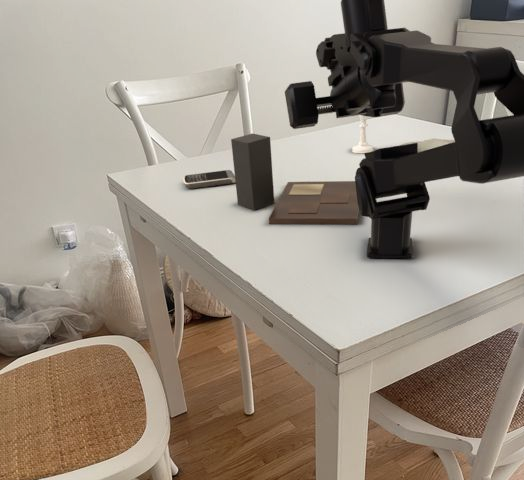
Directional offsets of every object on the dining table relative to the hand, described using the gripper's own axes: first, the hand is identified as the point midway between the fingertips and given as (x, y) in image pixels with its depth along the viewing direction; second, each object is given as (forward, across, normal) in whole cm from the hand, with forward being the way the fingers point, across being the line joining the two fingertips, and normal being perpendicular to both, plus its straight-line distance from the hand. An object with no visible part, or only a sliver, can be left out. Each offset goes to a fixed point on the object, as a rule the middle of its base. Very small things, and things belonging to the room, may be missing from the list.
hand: (327, 113), depth 93 cm
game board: (+5, +2, +14) cm, 15 cm away
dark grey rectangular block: (+10, +13, +12) cm, 20 cm away
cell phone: (+26, +18, +5) cm, 32 cm away
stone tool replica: (+15, -31, +10) cm, 36 cm away
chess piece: (+32, -20, +3) cm, 37 cm away
